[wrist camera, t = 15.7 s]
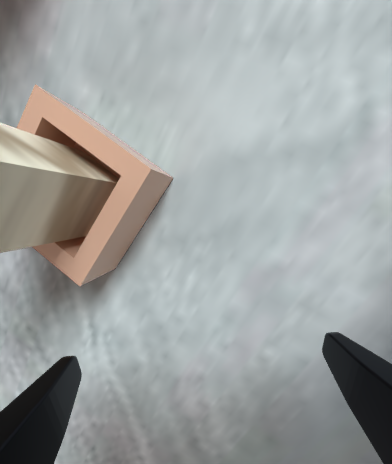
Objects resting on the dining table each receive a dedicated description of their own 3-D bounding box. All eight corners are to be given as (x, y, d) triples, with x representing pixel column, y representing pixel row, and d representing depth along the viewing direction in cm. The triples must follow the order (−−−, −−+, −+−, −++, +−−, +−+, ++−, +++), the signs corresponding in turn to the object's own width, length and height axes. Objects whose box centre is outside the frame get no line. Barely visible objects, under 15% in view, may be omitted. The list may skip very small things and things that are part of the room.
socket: (173, 178, 18) (151, 168, 13) (115, 268, 20) (80, 286, 15) (83, 112, 19) (35, 84, 14) (37, 206, 21) (-17, 206, 16)
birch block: (128, 184, 17) (-127, 138, 5) (100, 233, 19) (-166, 285, 6) (83, 151, 18) (-247, 37, 6) (58, 200, 19) (-265, 190, 7)
